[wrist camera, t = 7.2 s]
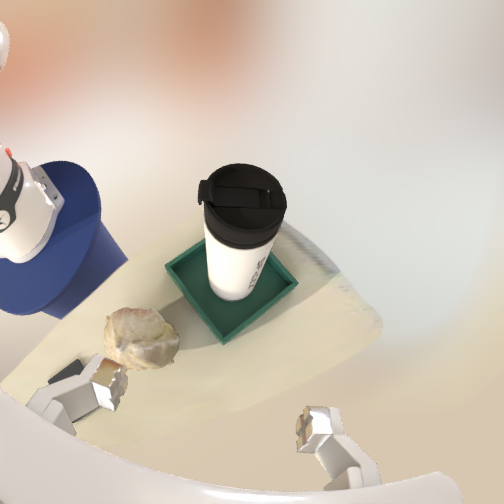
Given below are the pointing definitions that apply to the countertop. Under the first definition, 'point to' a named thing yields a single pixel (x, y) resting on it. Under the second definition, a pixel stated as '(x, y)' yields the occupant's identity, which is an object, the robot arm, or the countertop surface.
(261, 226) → the travel mug
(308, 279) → the countertop surface
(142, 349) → the garlic bulb
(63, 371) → the mat
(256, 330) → the countertop surface
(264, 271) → the tray
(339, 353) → the countertop surface
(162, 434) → the countertop surface
